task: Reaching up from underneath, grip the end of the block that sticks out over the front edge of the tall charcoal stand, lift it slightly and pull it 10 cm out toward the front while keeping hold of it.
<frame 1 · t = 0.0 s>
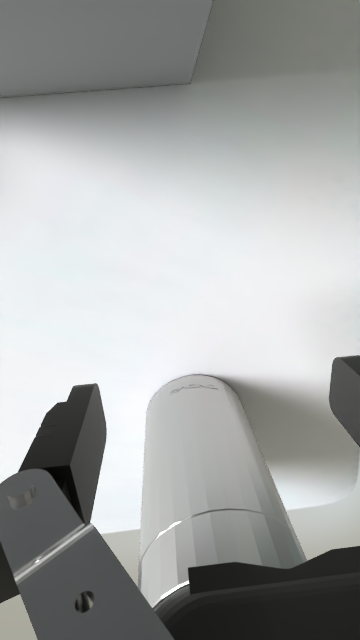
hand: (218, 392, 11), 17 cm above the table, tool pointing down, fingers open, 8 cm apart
stand: (29, 1, 21), on the table
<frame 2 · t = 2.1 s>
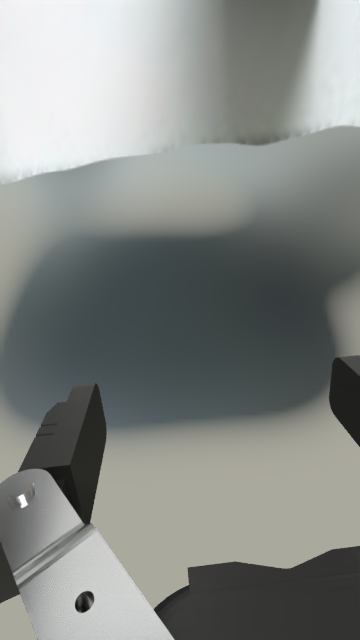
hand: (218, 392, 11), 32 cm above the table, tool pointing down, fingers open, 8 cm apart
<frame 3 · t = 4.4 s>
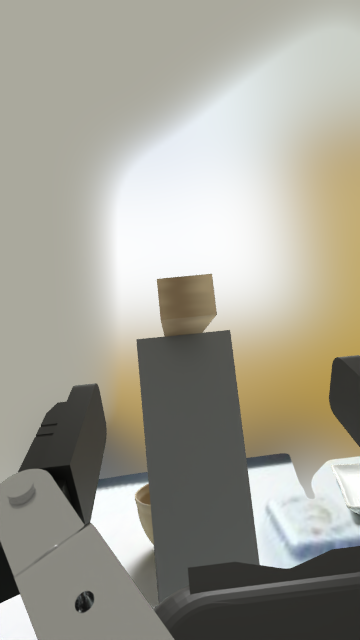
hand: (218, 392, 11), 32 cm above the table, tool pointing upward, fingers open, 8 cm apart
block: (182, 337, 39), point 37 cm above the table, touching stand
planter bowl: (182, 550, 63), on the table
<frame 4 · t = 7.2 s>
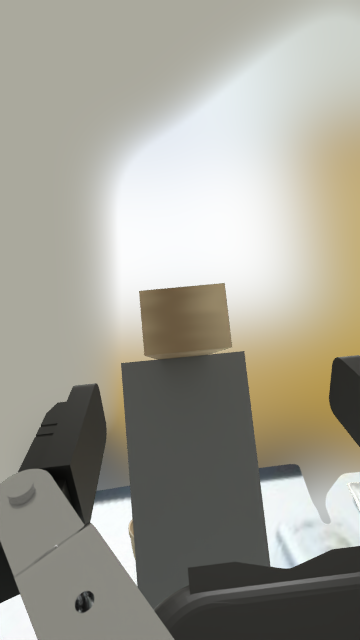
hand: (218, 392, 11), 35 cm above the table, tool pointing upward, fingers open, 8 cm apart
block: (182, 357, 30), point 37 cm above the table, touching stand
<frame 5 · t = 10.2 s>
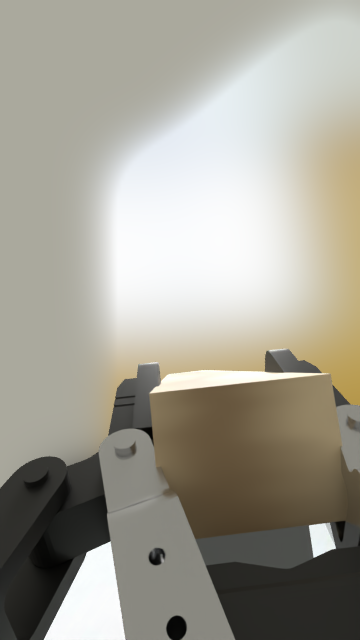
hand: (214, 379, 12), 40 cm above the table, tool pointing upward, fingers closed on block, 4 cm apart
block: (200, 420, 22), point 37 cm above the table, touching gripper, stand
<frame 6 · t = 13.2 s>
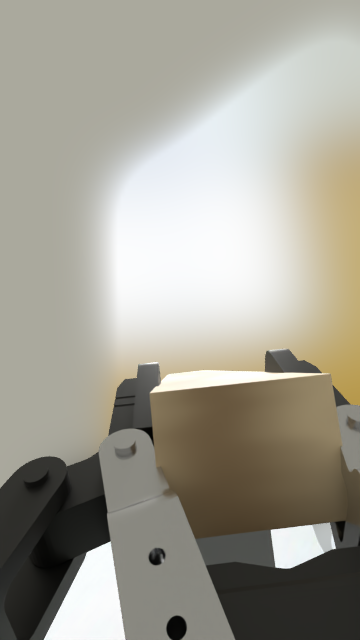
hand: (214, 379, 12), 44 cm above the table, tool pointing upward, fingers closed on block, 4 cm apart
block: (200, 420, 22), point 41 cm above the table, touching gripper
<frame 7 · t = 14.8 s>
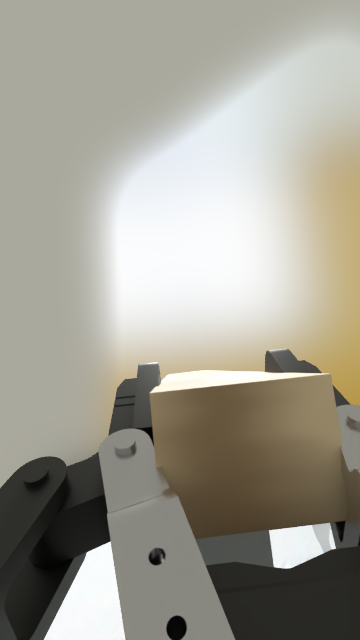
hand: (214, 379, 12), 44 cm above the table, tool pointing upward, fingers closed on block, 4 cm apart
block: (200, 420, 22), point 41 cm above the table, touching gripper
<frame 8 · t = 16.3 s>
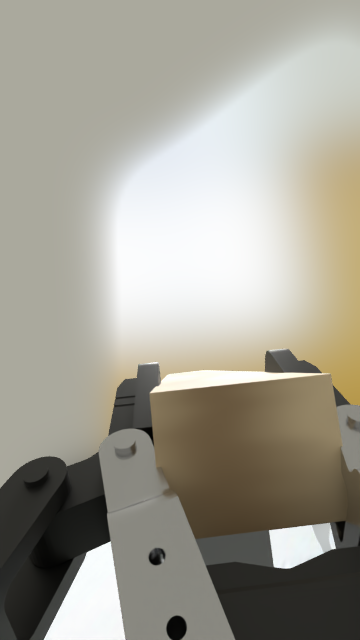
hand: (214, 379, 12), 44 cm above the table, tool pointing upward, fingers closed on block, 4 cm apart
block: (200, 420, 22), point 41 cm above the table, touching gripper
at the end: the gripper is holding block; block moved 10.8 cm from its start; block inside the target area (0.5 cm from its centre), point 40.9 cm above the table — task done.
